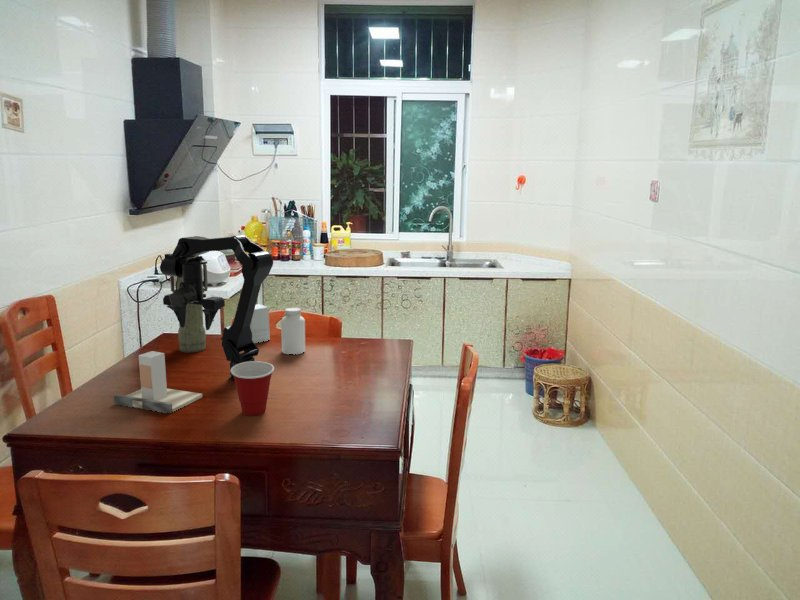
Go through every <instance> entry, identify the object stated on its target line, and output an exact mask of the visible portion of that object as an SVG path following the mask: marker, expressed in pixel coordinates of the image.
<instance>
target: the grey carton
mask: <svg viewBox="0 0 800 600" xmlns="http://www.w3.org/2000/svg"><path fill="white" fill-rule="evenodd" d="M165 354H166V353H165V352H159V351H154V350H151V351H147V352H145V353H141V354H139V355H138V362H139V363H138V365H139V368H138V369H139V381H140V389H141V394H142V399H148V400H154V401H157V400H159V399H162V398H164V397H167V387H168V386H167V373H166V371H167V370H166V358H165V357H166V356H165Z"/></svg>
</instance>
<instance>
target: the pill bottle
mask: <svg viewBox="0 0 800 600" xmlns="http://www.w3.org/2000/svg"><path fill="white" fill-rule="evenodd" d="M301 311H302V310H301V308H299V307H288V308H285V309H284V316H283V317H282V319H281V322H280V327H281V328H280V329H281V331H280V332H281V333H280V334H281V335H280V337H281V352H282V354H285V355H289V354H293V355H294V356H295V354H296V355H301V354H303V352H304V353H305V352H306V320H305V318H304V317H303V316H302V315H301V314H302V312H301Z"/></svg>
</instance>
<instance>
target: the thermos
mask: <svg viewBox="0 0 800 600" xmlns="http://www.w3.org/2000/svg"><path fill="white" fill-rule="evenodd" d="M198 256H200V255H196V256H195V257H191V258H196V257H198ZM187 259H188V258H187ZM207 268H208V267H207V264H202V276H203V281H205V284H204V285H203V294H205V292H208V269H207ZM169 279H170V280H169V281H170V291H171V292H172V293H174V292H175V291H176V290H178V289H179V284H180V282H183V278H182V277H176V281H175V276H169ZM196 302H198V301H196ZM203 309H204V308H203V306H202V305H198V304H187V305H186V318H185V326H184V327H181V326H180V323H179V322H178V326H179V328H178V331H177V332H178V333H177V335H178V337H177V338H178V344H179V351H180V352H182V353H198V352H203V351H204V349H205V350H206V349H207V346H206V342H207V340H206V338H207V337H206V335H207V333H206V328H205V327H204V315H203V314H204V312H203V311H202V310H203ZM202 350H203V351H202Z"/></svg>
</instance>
